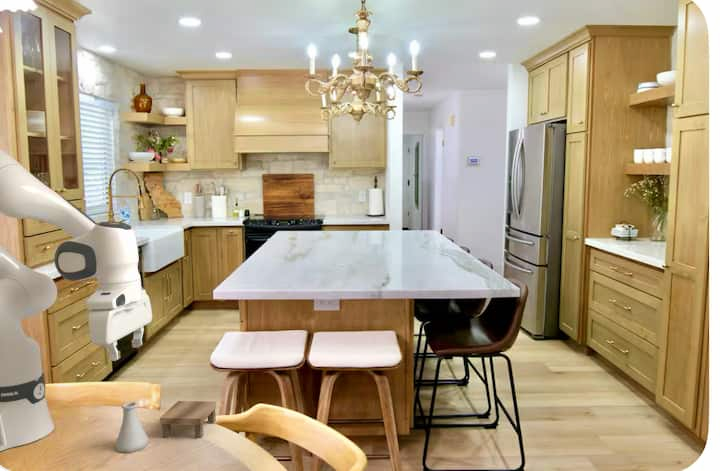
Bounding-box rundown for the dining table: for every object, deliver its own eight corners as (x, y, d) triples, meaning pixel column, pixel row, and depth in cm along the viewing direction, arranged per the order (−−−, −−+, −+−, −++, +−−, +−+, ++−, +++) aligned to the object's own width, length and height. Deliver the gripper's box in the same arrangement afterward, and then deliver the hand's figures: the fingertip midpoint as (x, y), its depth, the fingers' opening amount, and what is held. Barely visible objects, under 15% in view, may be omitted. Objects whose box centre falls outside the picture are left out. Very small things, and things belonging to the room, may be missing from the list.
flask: (108, 449, 126) (105, 407, 125) (134, 436, 132) (131, 396, 131) (130, 456, 122) (127, 413, 121) (156, 442, 129) (153, 401, 128)
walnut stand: (161, 438, 131) (159, 417, 130) (179, 419, 140) (178, 400, 140) (201, 439, 129) (200, 418, 129) (217, 420, 139) (216, 401, 139)
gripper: (131, 284, 134) (136, 339, 136) (80, 303, 114) (87, 368, 115) (156, 284, 134) (161, 339, 135) (108, 303, 113) (115, 367, 115)
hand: (126, 353), depth 125 cm, fingers open, 8 cm apart
